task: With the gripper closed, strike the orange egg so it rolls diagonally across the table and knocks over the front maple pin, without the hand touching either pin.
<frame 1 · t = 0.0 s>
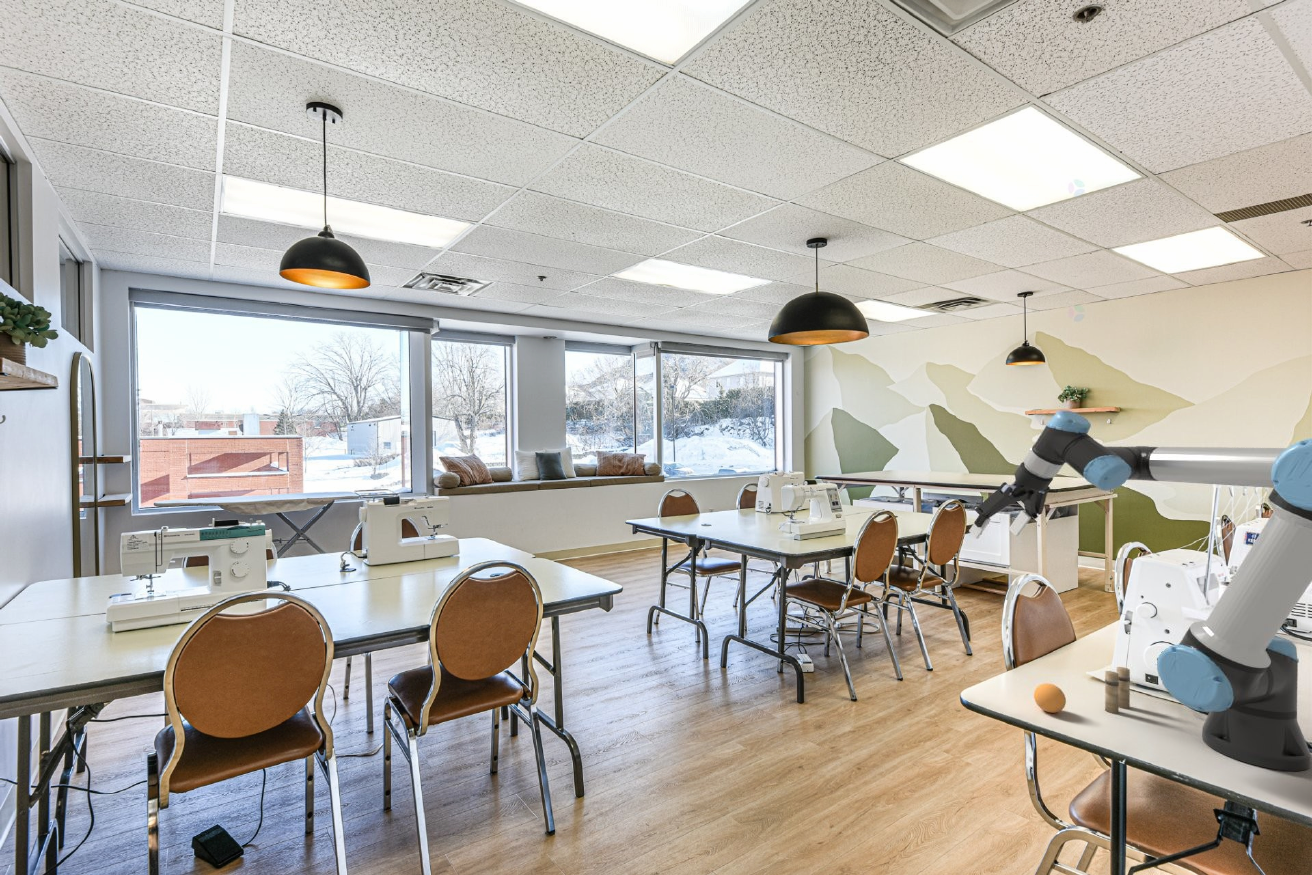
hand: (993, 533, 162), 36 cm above the table, tool tilted 35°, fingers open, 13 cm apart
front pin: (1111, 711, 139), on the table
back pin: (1122, 706, 141), on the table
orange egg: (1049, 697, 138), on the table
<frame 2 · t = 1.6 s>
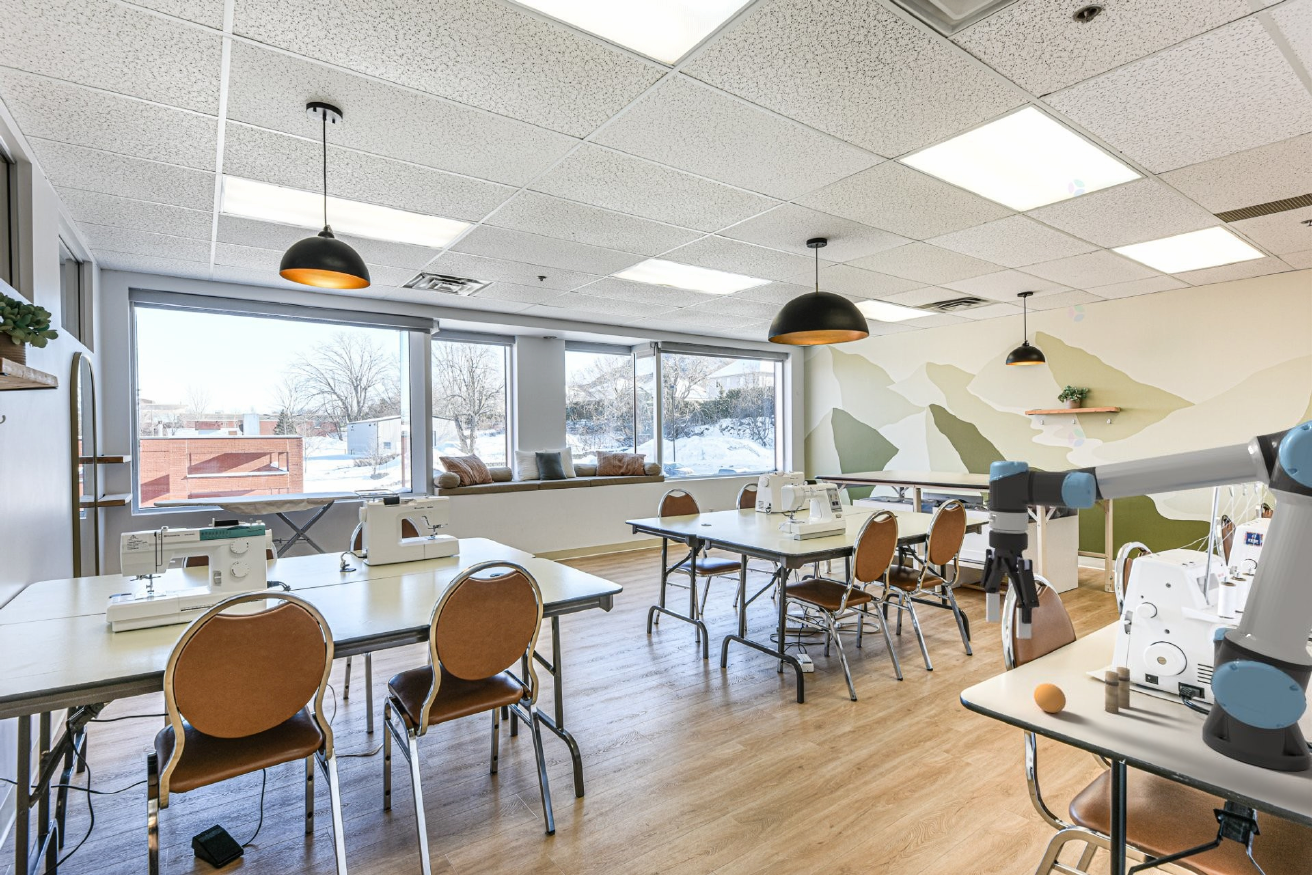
hand: (1007, 629, 138), 18 cm above the table, tool pointing down, fingers open, 11 cm apart
nothing on the table moved.
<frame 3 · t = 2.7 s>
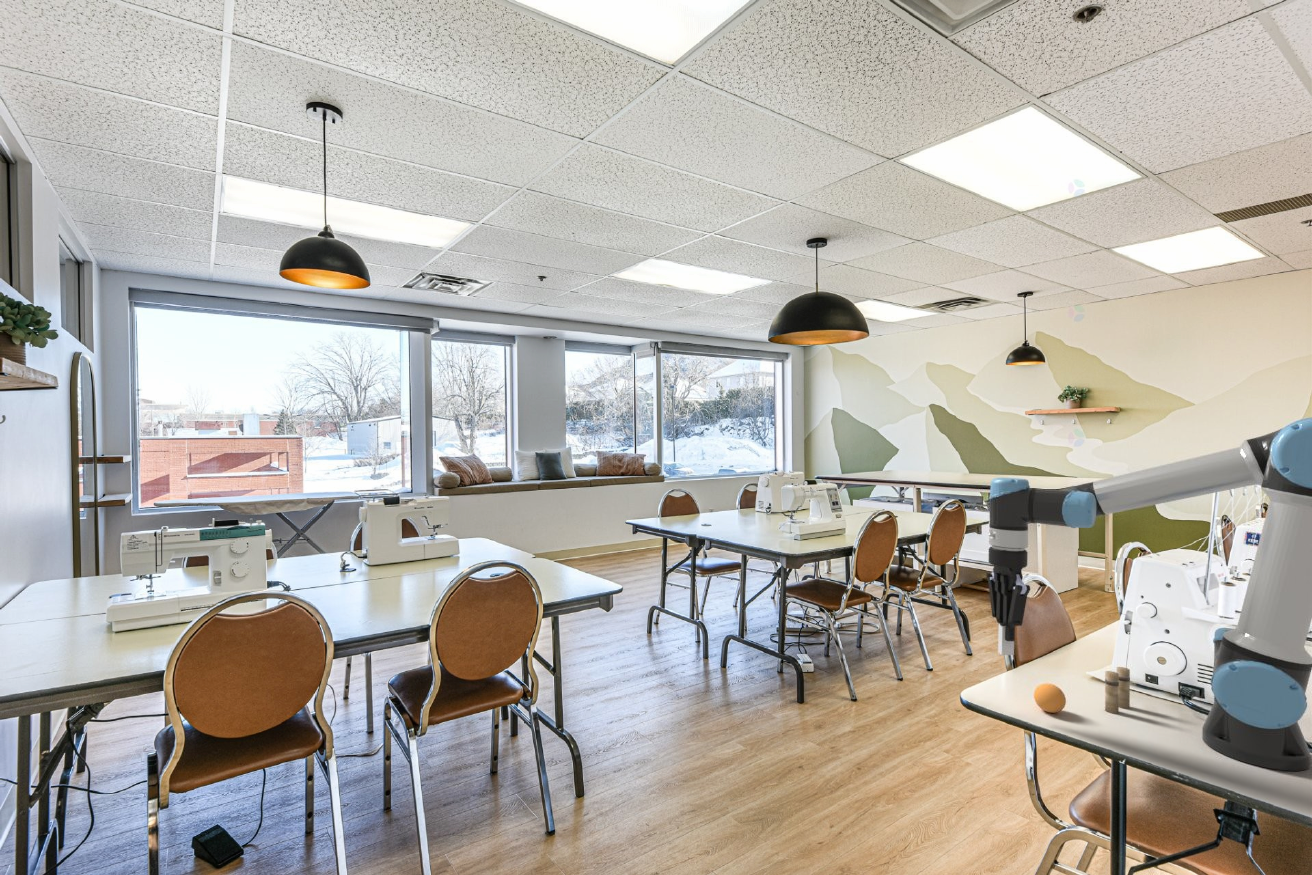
hand: (1005, 653, 138), 13 cm above the table, tool pointing down, fingers closed
nothing on the table moved.
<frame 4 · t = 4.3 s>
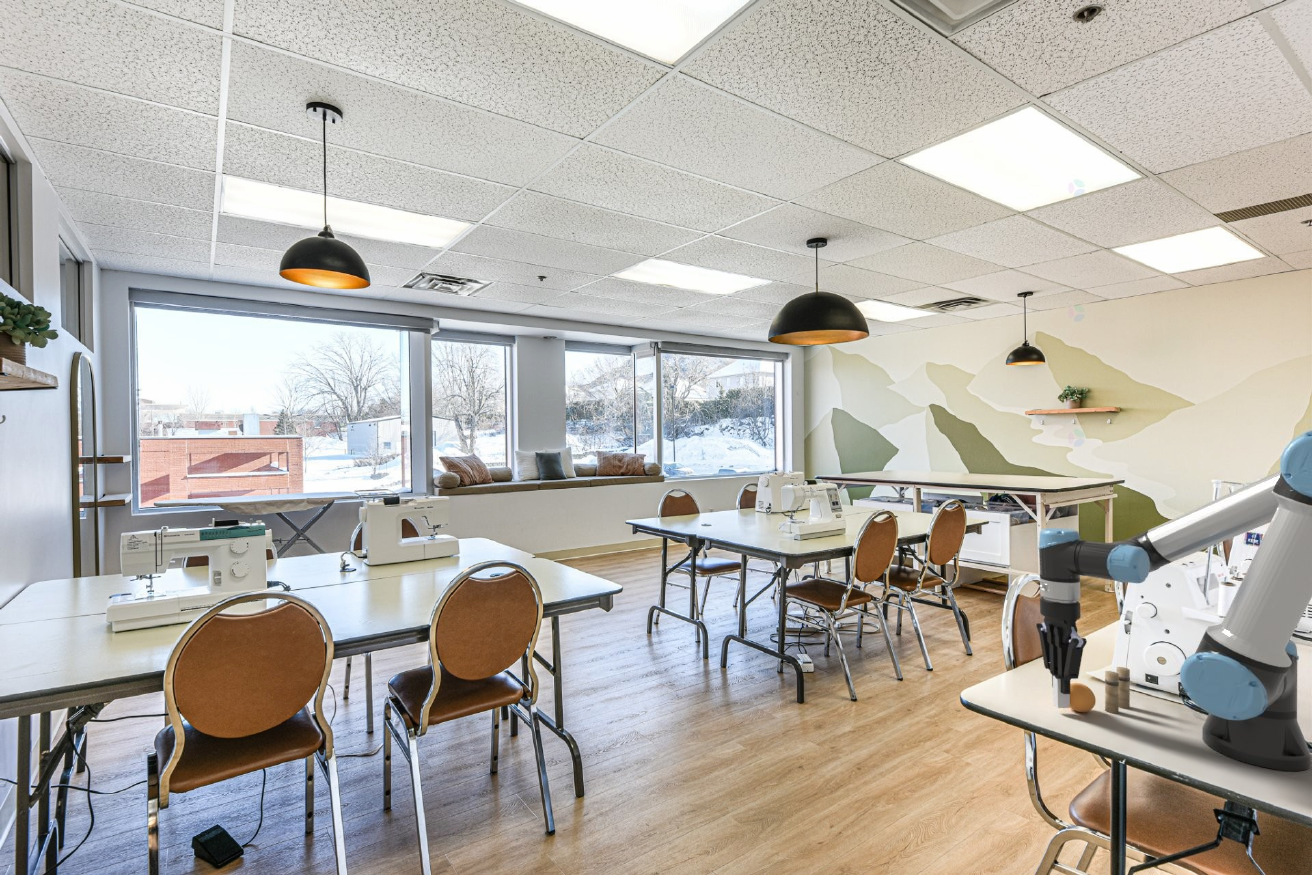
hand: (1061, 706, 138), 1 cm above the table, tool pointing down, fingers closed
orange egg: (1079, 697, 139), on the table
everything else where it was.
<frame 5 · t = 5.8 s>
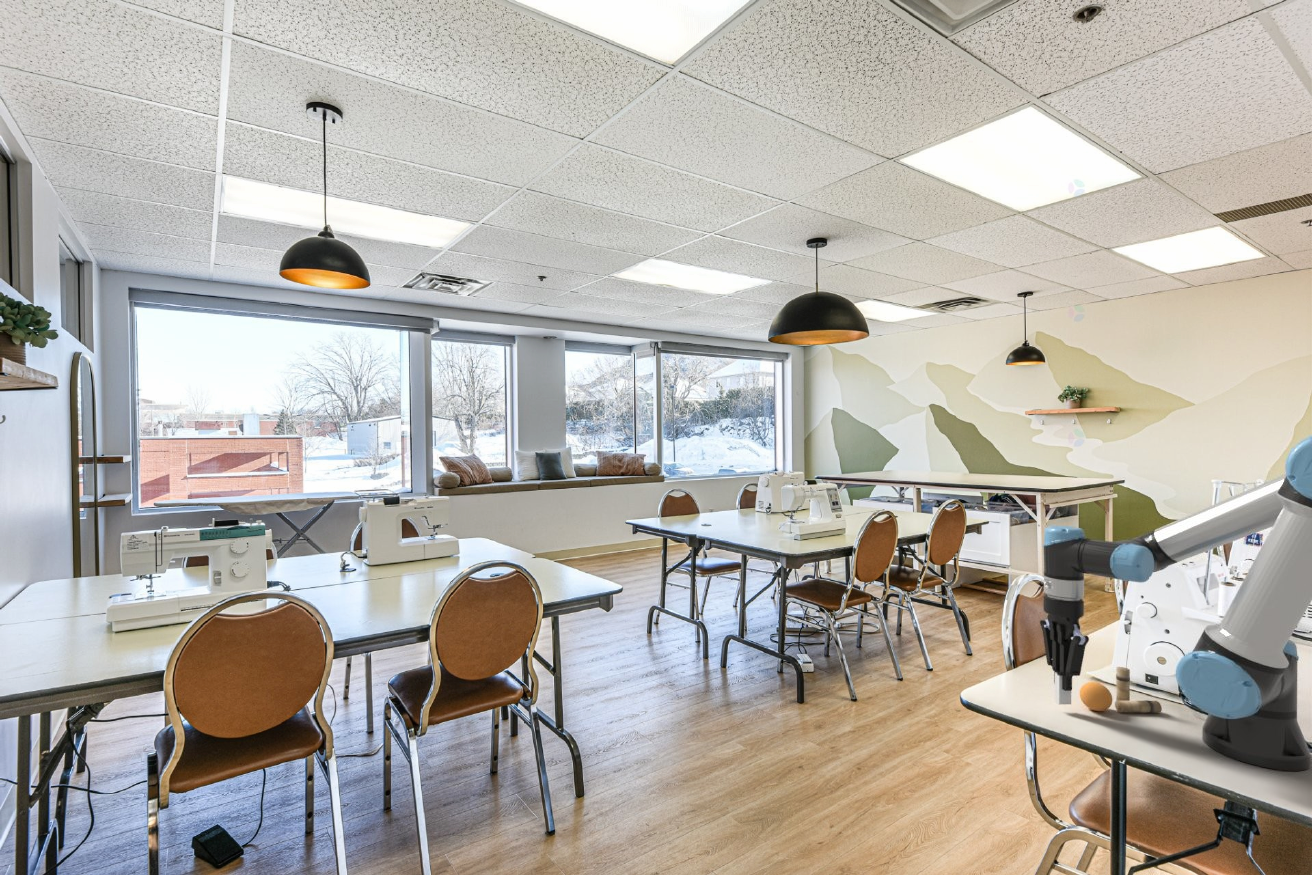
hand: (1062, 702, 138), 2 cm above the table, tool pointing down, fingers closed
front pin: (1118, 706, 138), point 1 cm above the table, tilted 90°
orange egg: (1095, 696, 139), on the table
everything else where it was.
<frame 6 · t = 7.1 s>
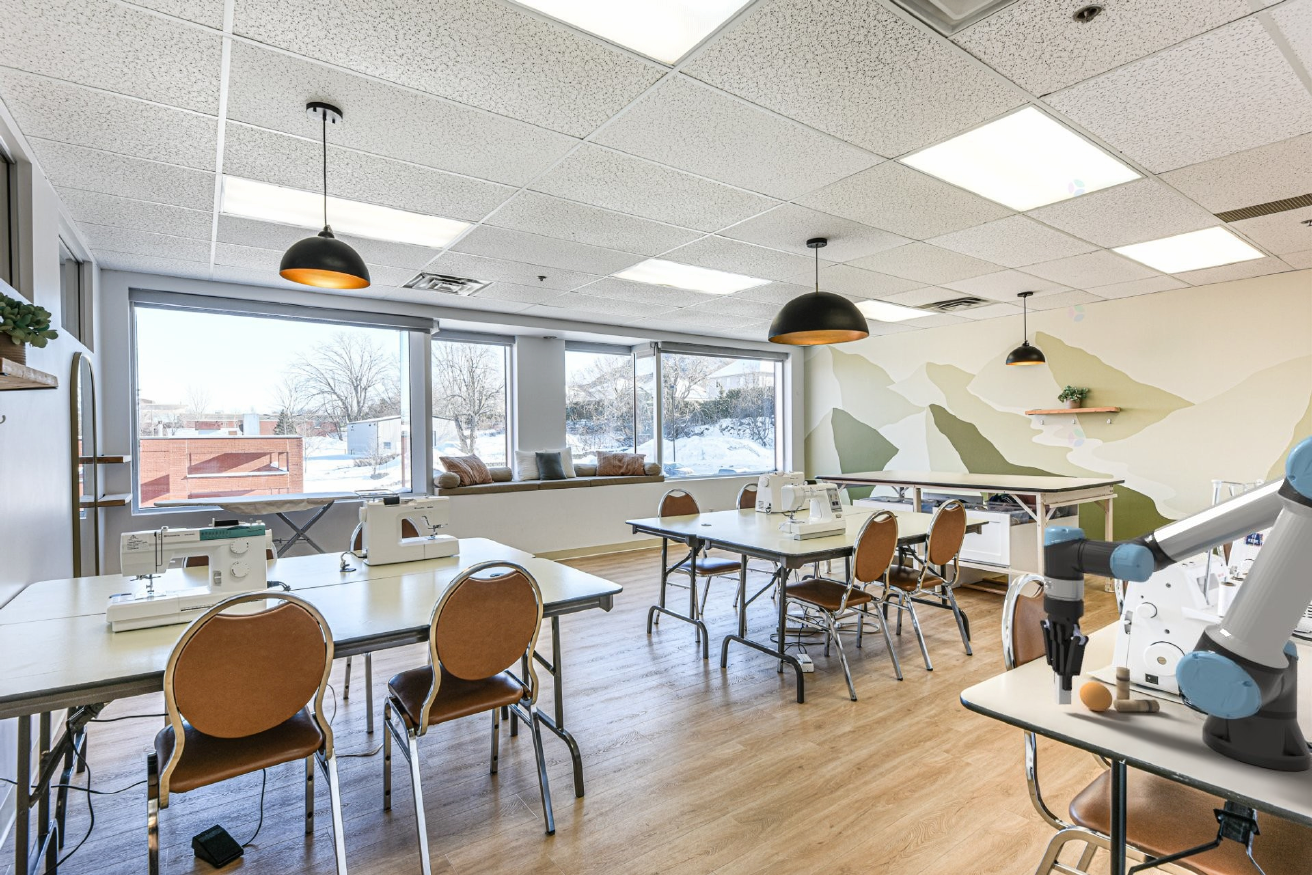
hand: (1062, 702, 138), 2 cm above the table, tool pointing down, fingers closed
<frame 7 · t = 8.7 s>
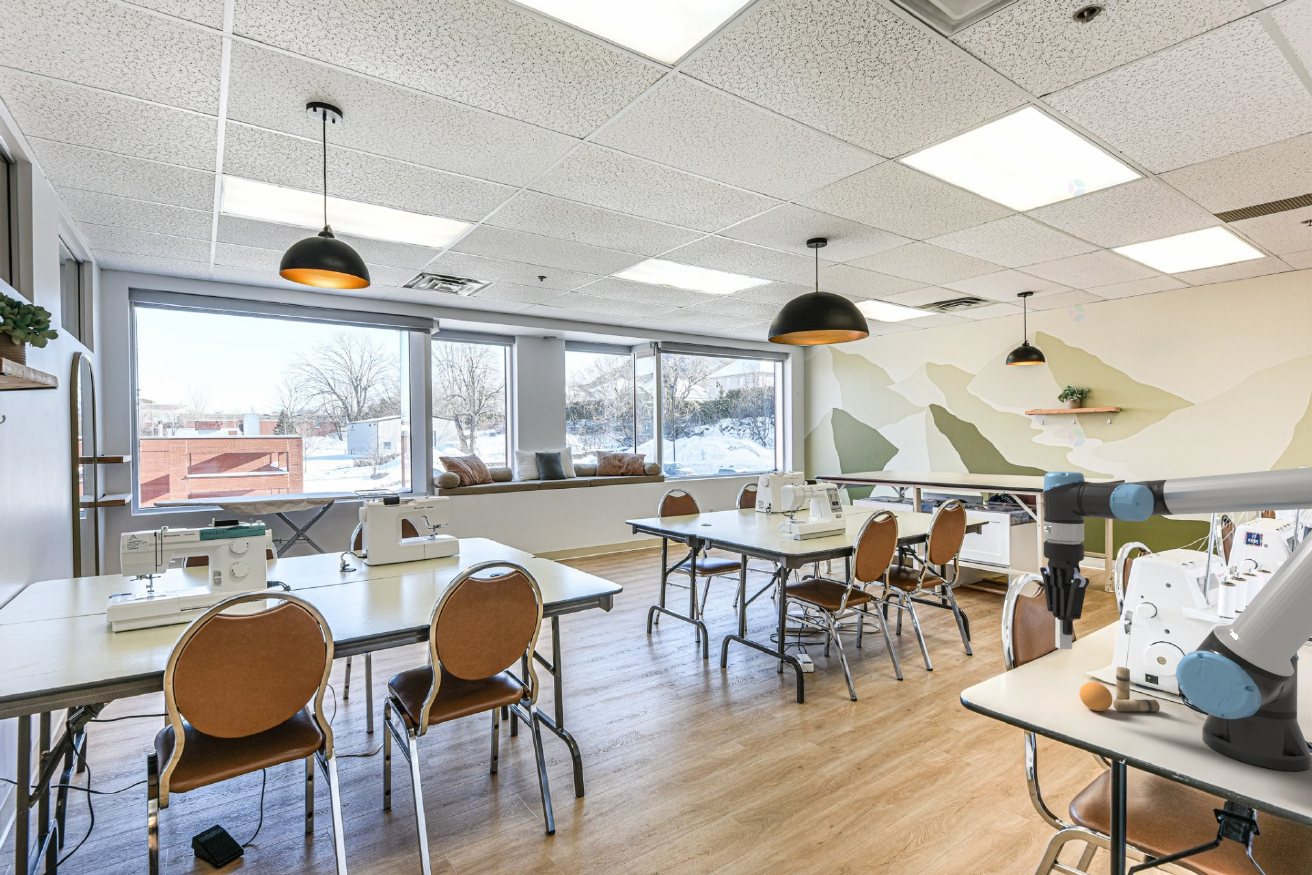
hand: (1063, 647, 138), 14 cm above the table, tool pointing down, fingers closed
nothing on the table moved.
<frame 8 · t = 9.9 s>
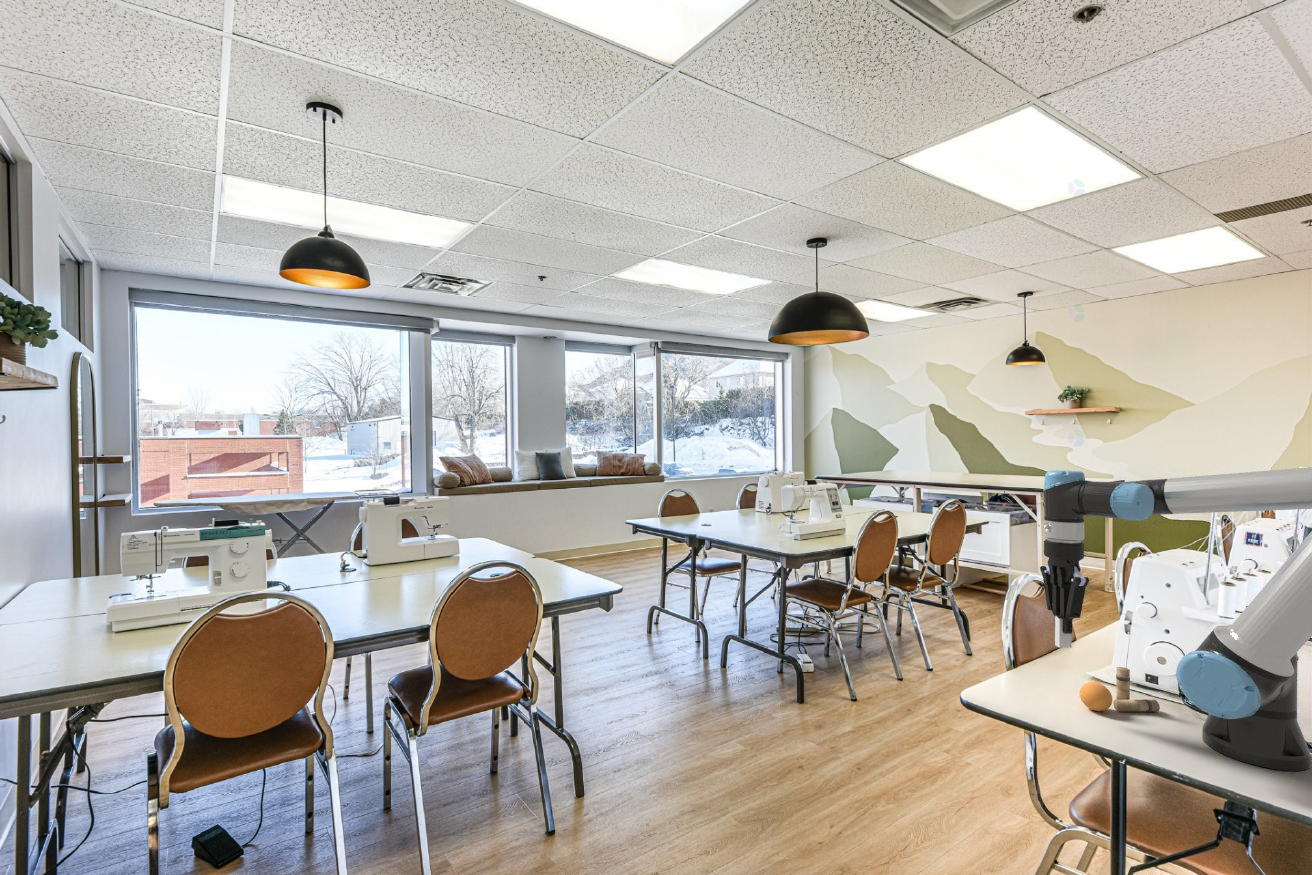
hand: (1063, 646, 138), 14 cm above the table, tool pointing down, fingers closed
nothing on the table moved.
at the end: front pin tilted 90°; front pin never touched the robot; orange egg moved 10.9 cm from its start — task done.
